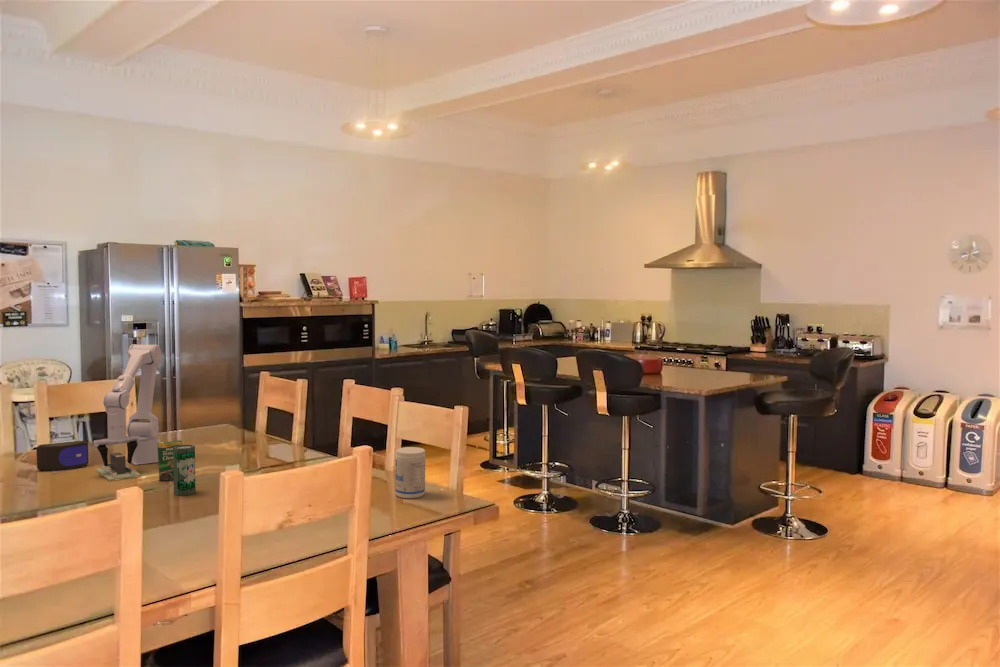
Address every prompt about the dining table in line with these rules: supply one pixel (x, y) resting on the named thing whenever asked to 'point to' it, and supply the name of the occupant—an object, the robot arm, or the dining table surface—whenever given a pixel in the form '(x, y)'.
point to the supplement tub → (410, 472)
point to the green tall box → (184, 469)
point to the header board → (112, 475)
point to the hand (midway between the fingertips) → (117, 464)
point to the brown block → (118, 463)
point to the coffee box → (166, 459)
